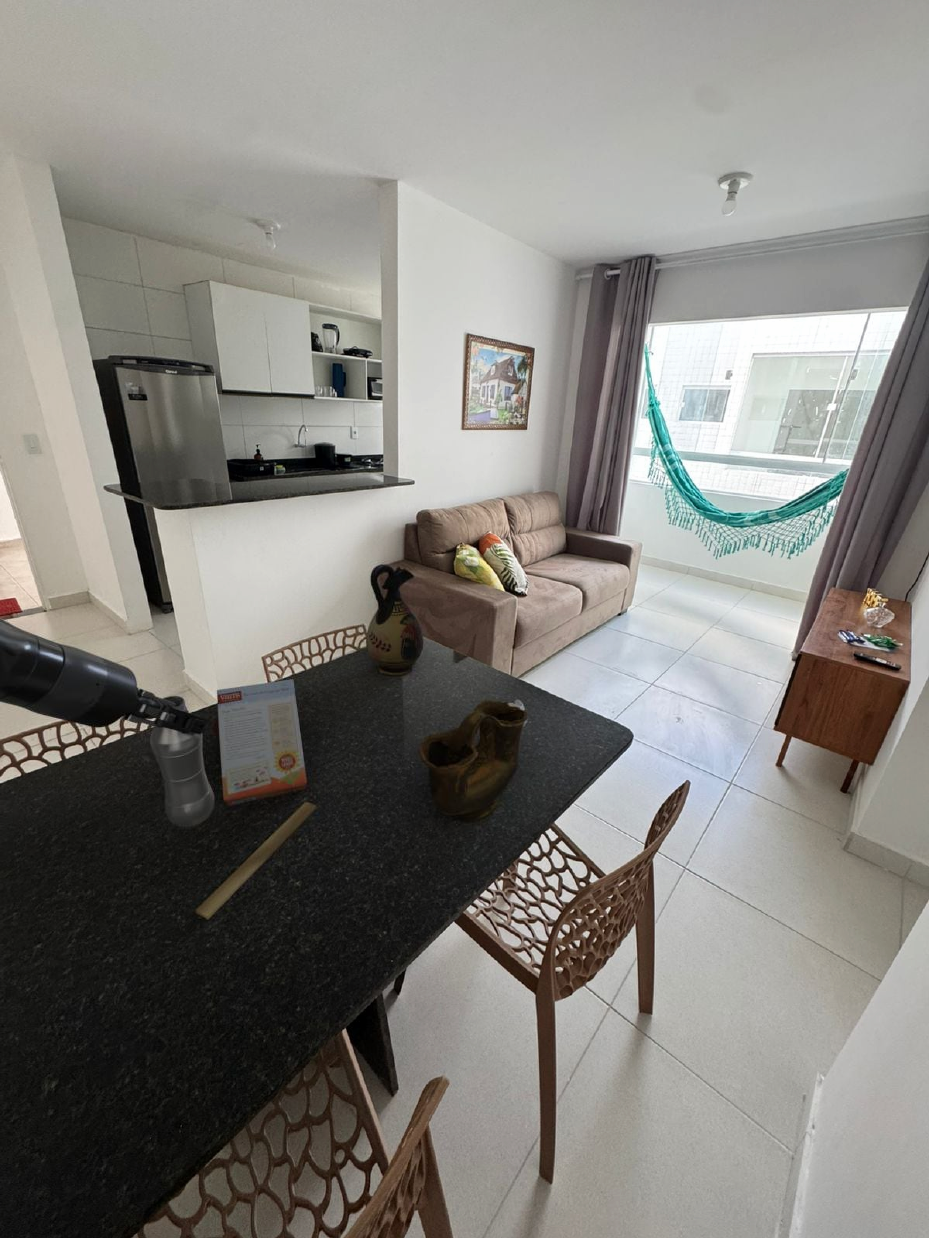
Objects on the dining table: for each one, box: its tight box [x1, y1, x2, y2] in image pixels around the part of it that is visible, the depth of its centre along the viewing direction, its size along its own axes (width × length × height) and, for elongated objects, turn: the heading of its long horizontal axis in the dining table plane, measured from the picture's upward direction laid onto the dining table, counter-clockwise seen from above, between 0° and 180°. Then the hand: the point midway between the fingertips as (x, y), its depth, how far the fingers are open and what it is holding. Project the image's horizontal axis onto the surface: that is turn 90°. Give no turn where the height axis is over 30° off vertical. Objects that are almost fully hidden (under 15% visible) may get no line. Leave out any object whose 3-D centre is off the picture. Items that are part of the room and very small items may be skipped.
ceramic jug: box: [365, 563, 424, 676], centre depth 135 cm, size 17×16×30 cm
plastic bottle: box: [149, 695, 215, 828], centre depth 72 cm, size 6×7×20 cm
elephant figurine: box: [507, 699, 528, 728], centre depth 119 cm, size 7×8×6 cm
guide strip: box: [195, 801, 317, 920], centre depth 83 cm, size 2×24×1 cm, turn 156°
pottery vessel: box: [417, 699, 529, 823], centre depth 93 cm, size 25×11×20 cm, turn 140°
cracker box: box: [216, 678, 308, 807], centre depth 97 cm, size 14×6×21 cm
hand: (185, 720), depth 71 cm, fingers closed on plastic bottle, 6 cm apart
